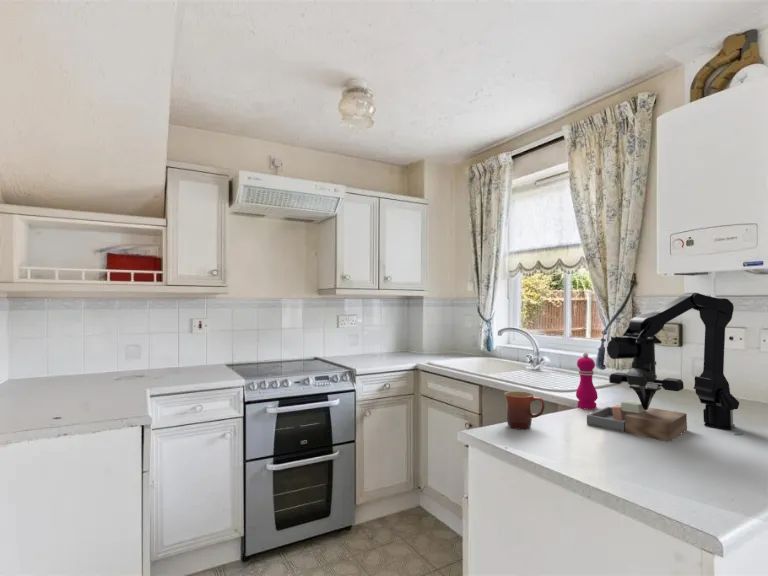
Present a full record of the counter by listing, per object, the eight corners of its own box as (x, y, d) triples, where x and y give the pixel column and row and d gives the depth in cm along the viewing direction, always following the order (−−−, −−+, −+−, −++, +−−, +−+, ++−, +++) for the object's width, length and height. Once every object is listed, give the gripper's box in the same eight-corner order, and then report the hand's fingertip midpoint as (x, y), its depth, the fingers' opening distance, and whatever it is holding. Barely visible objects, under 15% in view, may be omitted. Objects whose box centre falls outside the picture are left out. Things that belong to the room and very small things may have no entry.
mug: (503, 429, 131) (503, 396, 132) (505, 422, 140) (505, 390, 140) (545, 433, 127) (544, 398, 128) (544, 425, 136) (544, 392, 136)
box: (643, 422, 138) (643, 412, 138) (624, 432, 127) (623, 422, 127) (607, 415, 146) (607, 406, 146) (586, 424, 136) (586, 415, 136)
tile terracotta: (626, 404, 137) (618, 404, 138) (619, 407, 133) (611, 407, 135) (629, 420, 136) (621, 420, 138) (623, 423, 133) (614, 423, 134)
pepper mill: (600, 410, 153) (599, 354, 154) (578, 409, 155) (577, 354, 155) (594, 405, 160) (593, 351, 161) (574, 404, 162) (572, 351, 162)
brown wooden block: (687, 430, 129) (686, 413, 129) (669, 442, 118) (669, 423, 119) (644, 422, 138) (644, 406, 138) (625, 432, 127) (624, 415, 127)
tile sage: (645, 410, 133) (645, 402, 133) (638, 413, 130) (638, 405, 130) (628, 407, 136) (628, 399, 137) (621, 410, 133) (621, 402, 134)
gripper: (601, 357, 132) (602, 408, 132) (671, 364, 118) (673, 420, 118) (615, 354, 140) (616, 403, 139) (683, 360, 126) (684, 413, 125)
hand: (645, 409), depth 130 cm, fingers closed
